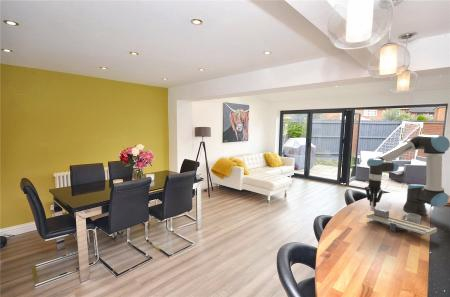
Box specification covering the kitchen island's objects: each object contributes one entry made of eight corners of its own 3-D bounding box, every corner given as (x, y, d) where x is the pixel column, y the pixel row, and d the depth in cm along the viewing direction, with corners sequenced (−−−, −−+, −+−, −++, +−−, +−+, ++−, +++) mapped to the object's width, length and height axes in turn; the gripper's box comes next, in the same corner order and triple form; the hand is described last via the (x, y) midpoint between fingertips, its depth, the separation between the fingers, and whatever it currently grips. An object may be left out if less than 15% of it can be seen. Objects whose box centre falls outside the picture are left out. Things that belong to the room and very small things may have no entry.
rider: (377, 215, 167) (377, 208, 167) (388, 218, 160) (389, 211, 159) (373, 216, 165) (373, 208, 165) (385, 219, 158) (385, 211, 158)
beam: (375, 214, 171) (375, 212, 171) (436, 231, 139) (437, 228, 139) (366, 217, 166) (366, 214, 166) (427, 235, 134) (427, 232, 134)
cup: (417, 230, 152) (419, 218, 151) (400, 225, 160) (401, 213, 159) (421, 228, 156) (422, 215, 155) (403, 222, 164) (404, 211, 163)
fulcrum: (401, 226, 158) (402, 218, 157) (406, 228, 155) (407, 220, 154) (389, 230, 151) (390, 222, 150) (394, 232, 148) (395, 224, 148)
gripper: (363, 178, 169) (360, 208, 172) (381, 182, 158) (378, 214, 160) (369, 177, 173) (366, 206, 175) (387, 181, 161) (384, 212, 164)
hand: (372, 210), depth 168 cm, fingers closed
